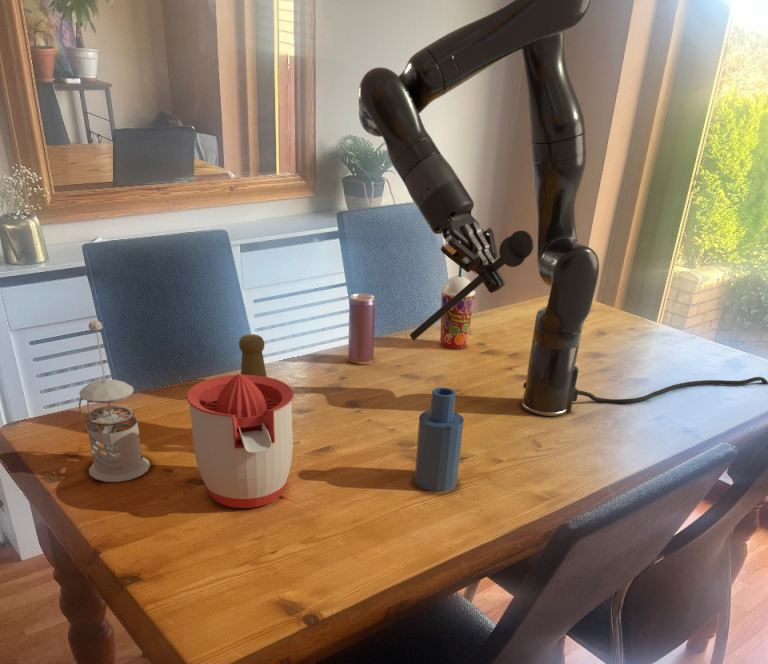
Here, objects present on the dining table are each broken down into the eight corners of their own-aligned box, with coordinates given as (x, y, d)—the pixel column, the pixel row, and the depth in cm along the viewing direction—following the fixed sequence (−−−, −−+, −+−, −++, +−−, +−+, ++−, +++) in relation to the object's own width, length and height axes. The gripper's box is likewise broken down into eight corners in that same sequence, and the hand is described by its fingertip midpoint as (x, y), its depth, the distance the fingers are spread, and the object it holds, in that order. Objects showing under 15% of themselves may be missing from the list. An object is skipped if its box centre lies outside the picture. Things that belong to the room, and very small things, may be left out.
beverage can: (370, 366, 167) (372, 301, 159) (345, 363, 168) (346, 298, 160) (375, 357, 172) (378, 294, 164) (351, 354, 173) (352, 292, 165)
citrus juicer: (211, 531, 106) (198, 405, 95) (188, 477, 119) (175, 361, 109) (312, 512, 111) (311, 391, 101) (280, 462, 125) (276, 351, 114)
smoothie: (447, 352, 178) (455, 269, 167) (430, 342, 184) (437, 261, 173) (476, 348, 181) (485, 267, 171) (458, 338, 187) (466, 259, 177)
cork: (273, 384, 155) (271, 334, 149) (258, 393, 150) (255, 342, 145) (250, 379, 157) (247, 329, 151) (234, 387, 152) (230, 337, 147)
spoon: (405, 326, 125) (523, 223, 106) (419, 347, 126) (539, 248, 106) (404, 327, 125) (522, 223, 105) (417, 348, 125) (538, 249, 105)
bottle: (450, 473, 124) (460, 383, 116) (460, 493, 118) (471, 400, 110) (411, 474, 123) (417, 383, 114) (419, 495, 117) (426, 401, 109)
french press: (116, 487, 115) (89, 335, 102) (68, 467, 120) (37, 319, 107) (162, 464, 122) (142, 319, 109) (115, 446, 127) (91, 305, 114)
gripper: (430, 180, 104) (495, 282, 105) (476, 174, 113) (535, 267, 114) (399, 214, 109) (460, 311, 110) (445, 205, 119) (501, 294, 119)
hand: (498, 288), depth 112 cm, fingers closed on spoon, 1 cm apart
